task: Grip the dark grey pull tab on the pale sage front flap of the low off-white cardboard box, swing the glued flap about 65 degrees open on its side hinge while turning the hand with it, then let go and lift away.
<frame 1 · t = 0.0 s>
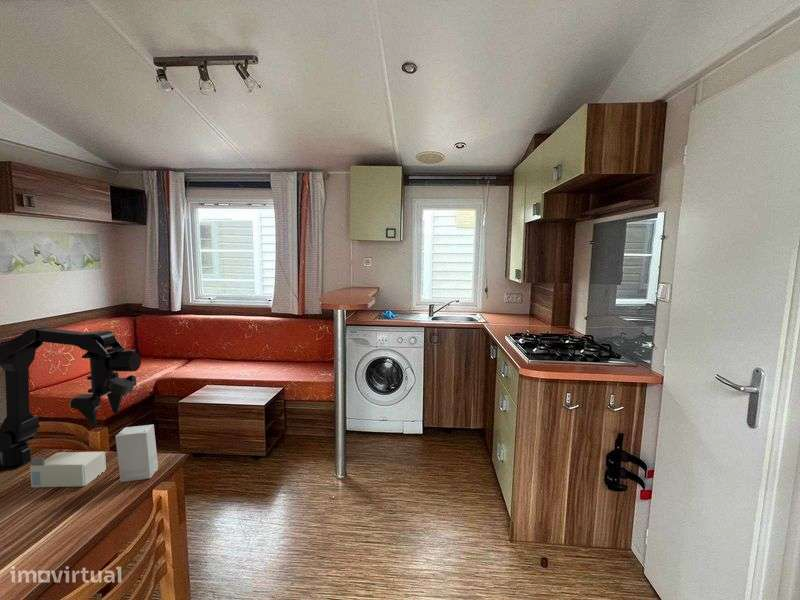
hand: (105, 418, 115), 15 cm above the table, tool pointing down, fingers open, 9 cm apart
carton flap: (57, 471, 103), point 5 cm above the table, hinge at 0.0°
skincare box: (138, 476, 110), on the table
carton: (71, 478, 108), on the table
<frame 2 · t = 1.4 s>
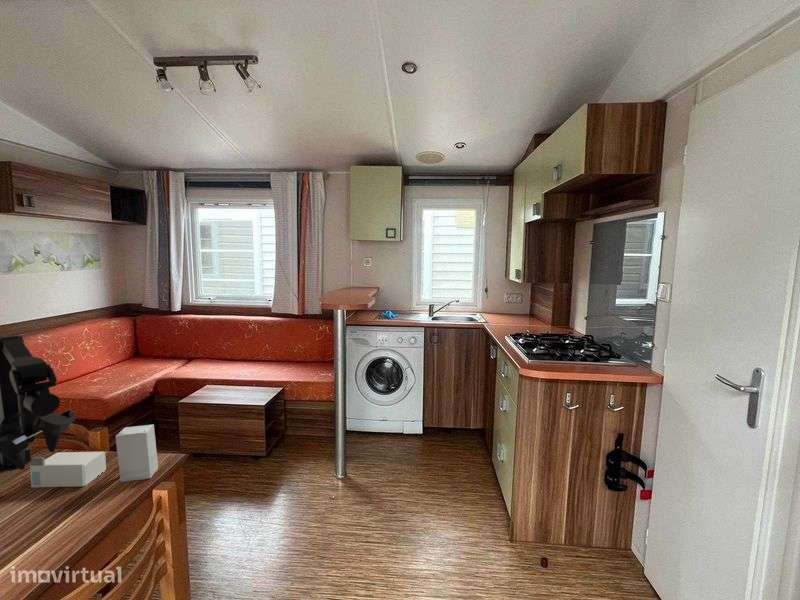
hand: (37, 460, 102), 8 cm above the table, tool pointing down, fingers open, 9 cm apart
nothing on the table moved.
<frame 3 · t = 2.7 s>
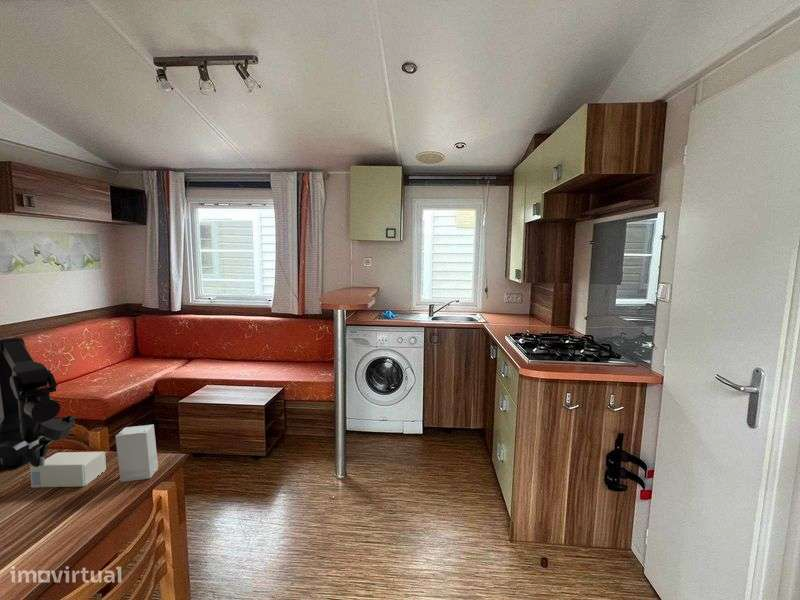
hand: (38, 465, 102), 7 cm above the table, tool pointing down, fingers closed, pressing on carton flap
carton flap: (57, 471, 103), point 5 cm above the table, hinge at 0.0°, touching gripper
everything else where it was.
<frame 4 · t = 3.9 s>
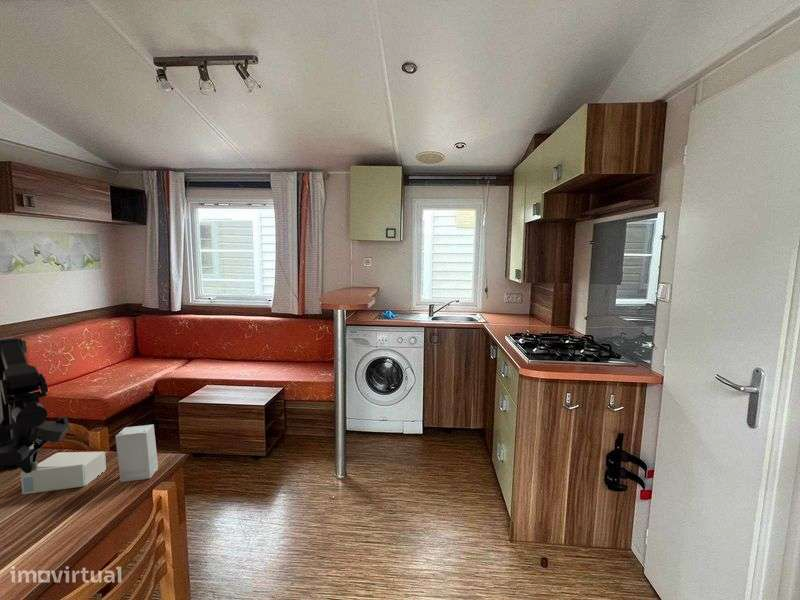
hand: (29, 471, 100), 7 cm above the table, tool pointing down, fingers closed
carton flap: (53, 475, 101), point 5 cm above the table, hinge at 13.4°, touching gripper
everything else where it was.
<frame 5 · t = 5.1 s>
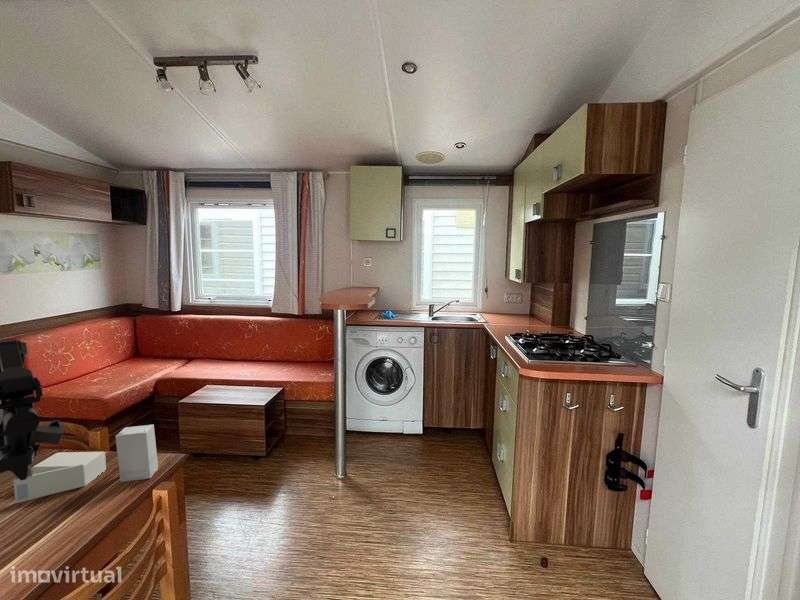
hand: (24, 478, 96), 7 cm above the table, tool pointing down, fingers closed
carton flap: (50, 478, 100), point 5 cm above the table, hinge at 30.2°, touching gripper
everything else where it was.
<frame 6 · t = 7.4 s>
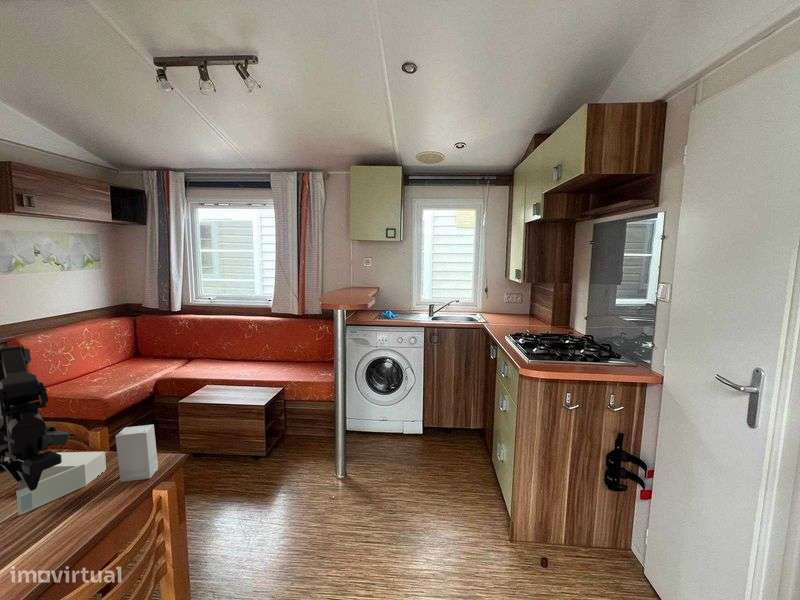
hand: (28, 487, 92), 7 cm above the table, tool pointing down, fingers open, 4 cm apart
carton flap: (53, 484, 97), point 5 cm above the table, hinge at 61.8°
everything else where it was.
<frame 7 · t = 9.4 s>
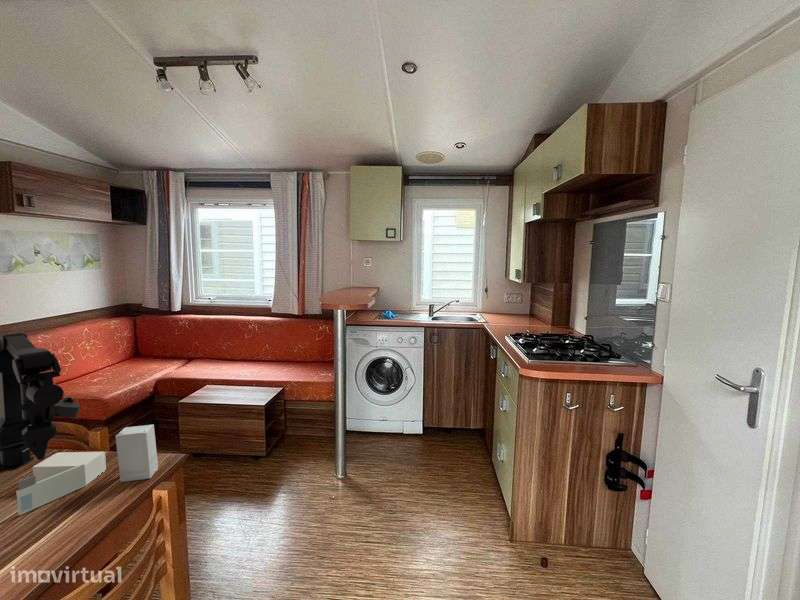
hand: (40, 452, 99), 12 cm above the table, tool pointing down, fingers open, 9 cm apart
nothing on the table moved.
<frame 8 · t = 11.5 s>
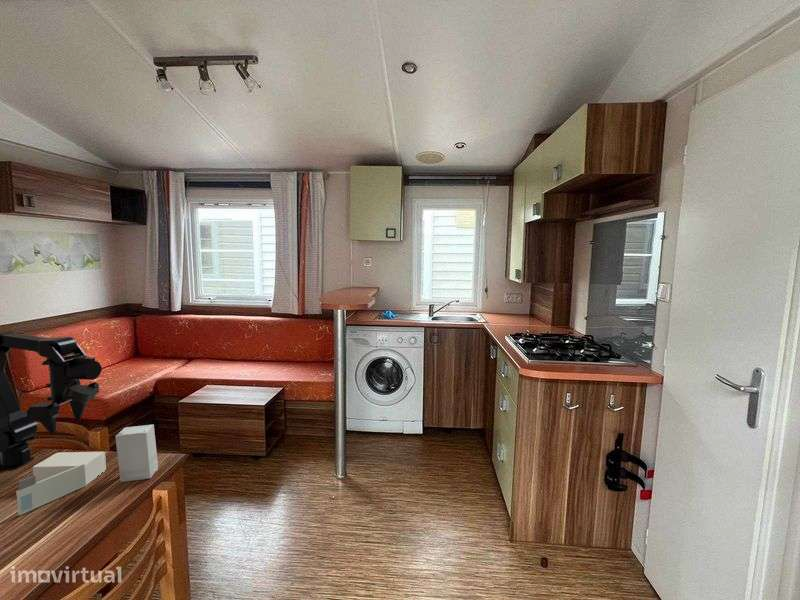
hand: (66, 427, 113), 13 cm above the table, tool pointing down, fingers open, 9 cm apart
nothing on the table moved.
at the end: carton flap at +62° (first picture: +0°); the gripper is holding nothing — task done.
